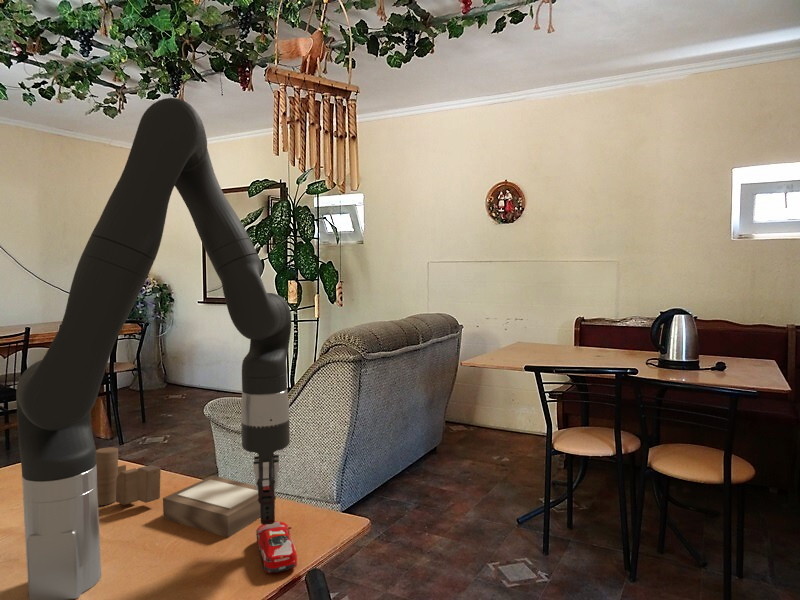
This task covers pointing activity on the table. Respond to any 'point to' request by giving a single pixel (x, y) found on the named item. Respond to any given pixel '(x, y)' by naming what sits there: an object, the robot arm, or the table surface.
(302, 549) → the table surface
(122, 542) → the table surface
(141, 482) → the wooden block set
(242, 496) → the picture frame
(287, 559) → the race car
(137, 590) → the table surface
